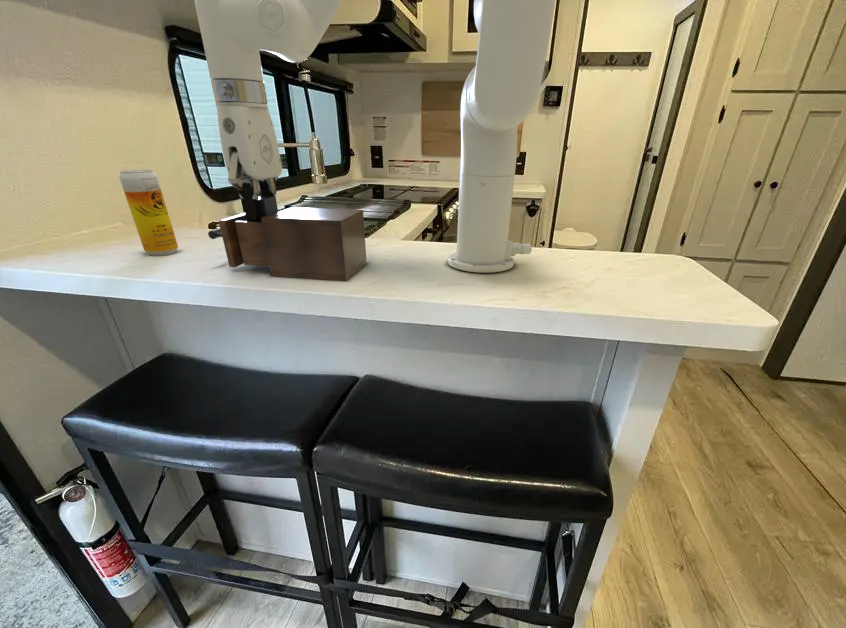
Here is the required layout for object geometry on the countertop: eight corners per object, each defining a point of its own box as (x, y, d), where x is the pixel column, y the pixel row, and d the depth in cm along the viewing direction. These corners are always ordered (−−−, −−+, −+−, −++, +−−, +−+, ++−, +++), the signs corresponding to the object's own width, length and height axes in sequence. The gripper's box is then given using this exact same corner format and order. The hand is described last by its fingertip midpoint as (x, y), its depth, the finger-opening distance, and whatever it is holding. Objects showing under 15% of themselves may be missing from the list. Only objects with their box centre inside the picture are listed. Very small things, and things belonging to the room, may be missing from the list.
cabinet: (271, 275, 72) (260, 217, 67) (300, 259, 82) (292, 206, 77) (346, 280, 70) (340, 220, 65) (366, 263, 80) (363, 209, 75)
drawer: (207, 265, 74) (195, 219, 70) (240, 251, 82) (230, 210, 78) (295, 271, 71) (288, 223, 67) (319, 256, 80) (314, 213, 76)
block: (259, 220, 75) (254, 196, 73) (279, 221, 75) (275, 197, 73) (247, 224, 72) (242, 199, 70) (268, 225, 71) (264, 199, 69)
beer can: (164, 257, 82) (137, 172, 74) (138, 255, 83) (108, 171, 75) (186, 249, 87) (162, 169, 79) (161, 248, 88) (135, 169, 80)
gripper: (231, 91, 56) (259, 232, 66) (288, 100, 70) (304, 215, 80) (182, 91, 57) (215, 230, 67) (247, 100, 71) (267, 213, 81)
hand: (263, 220), depth 73 cm, fingers closed on block, 4 cm apart
